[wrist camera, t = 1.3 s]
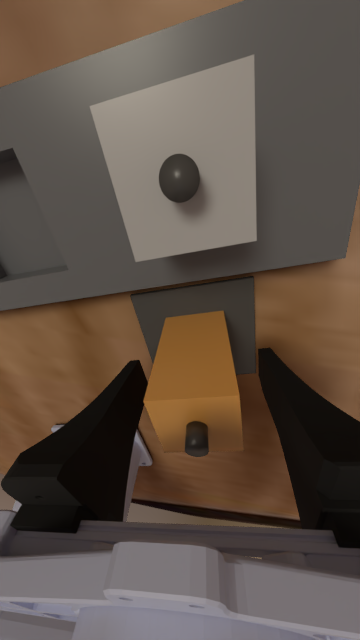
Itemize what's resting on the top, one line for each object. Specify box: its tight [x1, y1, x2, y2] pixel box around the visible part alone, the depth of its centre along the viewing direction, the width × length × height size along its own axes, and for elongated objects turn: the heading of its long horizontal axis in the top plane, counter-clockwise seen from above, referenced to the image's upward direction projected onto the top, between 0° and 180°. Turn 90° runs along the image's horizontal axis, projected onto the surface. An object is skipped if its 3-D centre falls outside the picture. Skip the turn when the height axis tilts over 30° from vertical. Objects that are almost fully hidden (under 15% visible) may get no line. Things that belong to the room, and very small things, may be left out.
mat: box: [130, 276, 256, 375], centre depth 16 cm, size 8×8×1 cm
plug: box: [143, 311, 244, 457], centre depth 12 cm, size 4×4×8 cm
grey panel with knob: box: [0, 0, 360, 311], centre depth 8 cm, size 32×9×7 cm, turn 101°
